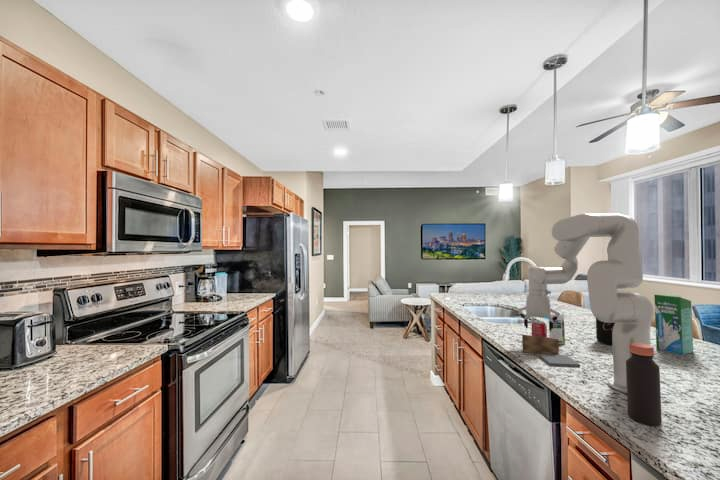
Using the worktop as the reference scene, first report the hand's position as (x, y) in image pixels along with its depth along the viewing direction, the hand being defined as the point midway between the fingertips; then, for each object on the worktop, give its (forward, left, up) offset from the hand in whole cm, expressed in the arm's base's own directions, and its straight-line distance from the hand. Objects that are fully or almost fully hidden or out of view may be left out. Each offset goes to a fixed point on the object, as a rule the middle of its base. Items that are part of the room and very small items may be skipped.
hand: (538, 328), depth 147 cm
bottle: (-63, -2, -9) cm, 63 cm away
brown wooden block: (-8, +3, -9) cm, 12 cm away
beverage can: (-1, 0, -9) cm, 9 cm away
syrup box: (+9, -12, -9) cm, 18 cm away
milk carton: (+2, -58, -9) cm, 59 cm away
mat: (-19, 0, -9) cm, 20 cm away
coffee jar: (+11, -37, -9) cm, 40 cm away
